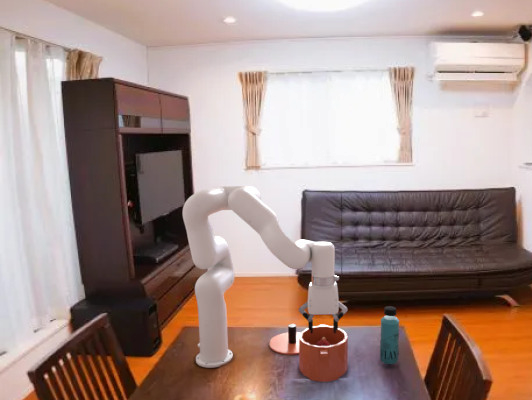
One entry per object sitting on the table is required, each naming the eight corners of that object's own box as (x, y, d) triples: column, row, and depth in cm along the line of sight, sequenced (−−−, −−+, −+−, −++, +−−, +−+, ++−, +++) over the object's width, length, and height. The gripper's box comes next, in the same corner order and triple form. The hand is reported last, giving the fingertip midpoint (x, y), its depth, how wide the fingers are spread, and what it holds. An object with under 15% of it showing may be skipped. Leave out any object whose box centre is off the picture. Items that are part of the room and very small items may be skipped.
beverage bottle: (377, 366, 145) (378, 310, 142) (382, 357, 151) (383, 303, 148) (396, 370, 143) (397, 312, 140) (400, 360, 149) (401, 305, 146)
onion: (329, 365, 140) (330, 342, 139) (312, 363, 141) (313, 340, 140) (332, 357, 146) (333, 335, 145) (315, 354, 147) (316, 332, 146)
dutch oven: (298, 386, 133) (298, 351, 131) (300, 353, 154) (300, 322, 153) (349, 386, 133) (350, 351, 132) (344, 352, 154) (345, 322, 153)
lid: (266, 356, 152) (266, 336, 151) (271, 334, 169) (271, 316, 168) (315, 356, 152) (315, 335, 151) (315, 334, 169) (315, 315, 168)
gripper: (348, 276, 143) (348, 326, 146) (296, 276, 143) (297, 326, 146) (350, 283, 136) (350, 336, 138) (296, 283, 136) (296, 336, 138)
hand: (323, 331), depth 142 cm, fingers open, 7 cm apart
